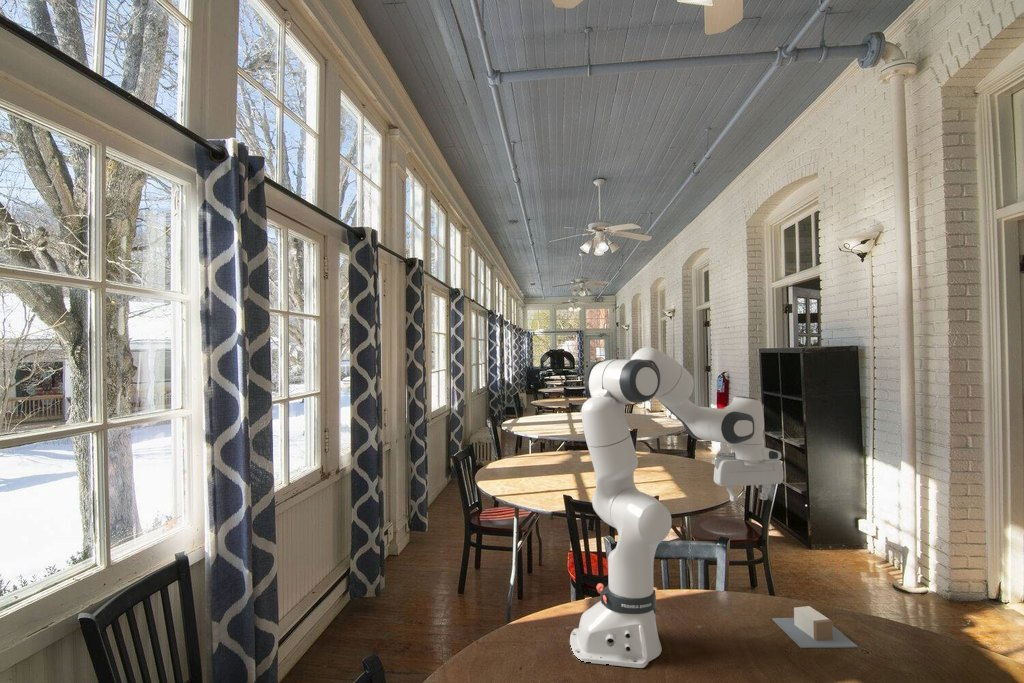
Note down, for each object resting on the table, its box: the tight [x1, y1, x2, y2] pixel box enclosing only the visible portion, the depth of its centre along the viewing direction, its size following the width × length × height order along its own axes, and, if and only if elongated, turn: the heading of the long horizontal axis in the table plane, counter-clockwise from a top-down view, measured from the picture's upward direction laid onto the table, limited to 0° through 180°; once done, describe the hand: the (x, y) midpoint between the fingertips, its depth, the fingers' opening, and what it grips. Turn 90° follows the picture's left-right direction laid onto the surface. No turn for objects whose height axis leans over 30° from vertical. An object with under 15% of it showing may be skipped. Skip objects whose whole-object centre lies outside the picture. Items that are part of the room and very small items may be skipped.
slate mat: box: [771, 617, 859, 649], centre depth 135 cm, size 14×14×1 cm
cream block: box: [793, 605, 833, 641], centre depth 135 cm, size 4×4×8 cm
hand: (748, 500), depth 151 cm, fingers open, 8 cm apart
